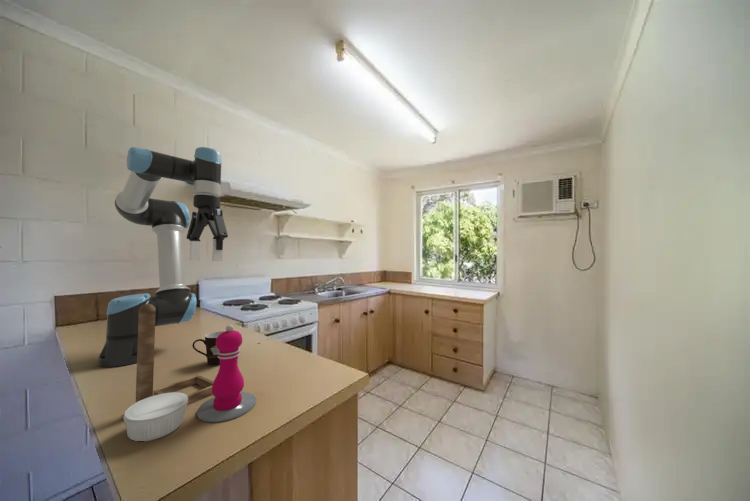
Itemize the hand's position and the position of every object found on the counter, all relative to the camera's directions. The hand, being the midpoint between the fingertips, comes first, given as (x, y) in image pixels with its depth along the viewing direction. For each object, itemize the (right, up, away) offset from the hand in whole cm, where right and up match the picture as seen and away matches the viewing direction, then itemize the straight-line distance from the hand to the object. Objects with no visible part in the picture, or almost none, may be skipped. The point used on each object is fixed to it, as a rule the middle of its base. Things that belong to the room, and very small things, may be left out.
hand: (205, 260), depth 89 cm
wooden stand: (+2, -36, -17) cm, 40 cm away
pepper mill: (+18, -36, -20) cm, 45 cm away
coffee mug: (-2, -37, +9) cm, 38 cm away
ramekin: (+8, -36, -29) cm, 47 cm away
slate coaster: (+18, -36, -20) cm, 45 cm away
